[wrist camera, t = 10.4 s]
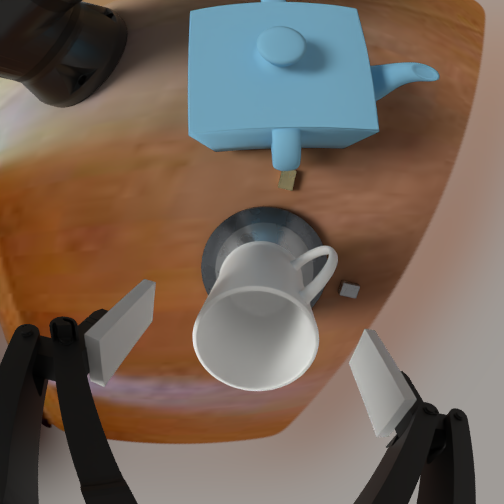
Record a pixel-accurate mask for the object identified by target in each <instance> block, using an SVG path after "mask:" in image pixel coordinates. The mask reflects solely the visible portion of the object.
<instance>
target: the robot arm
mask: <svg viewBox="0 0 504 504" xmlns="http://www.w3.org/2000/svg"><path fill="white" fill-rule="evenodd" d="M126 39H127V28H126V25H125V22H124V21H123V19H122V18H121V17H120V16H119V15H117V14H116V13H115V12H114V11H113V10H111V9H109V8H106V7H102V6H98V5H94V4H90V3H86V2H82V0H0V77H1V78H6V79H10V80H14V81H18V82H21V83H22V84H23V85H24V86H25V87H26V88H27V89H28V90H29V91H30V92H32V93H33V94H34V95H35V96H36V97H37V98H38V99H39V100H40V101H41V102H43V103H45V104H48V105H51V106H55V107H68V106H72V105H74V104H77V103H79V102H80V101H82V100H84V99H85V98H87V97H88V96H89V95H91V94H92V93H93V92H94V91H95V90H96V89H97V88H98V87H99V86H100V85H101V84H102V83H103V82H104V81H105V80H106V79H107V78H108V76H109V75H110V74H111V72H112V71H113V69H114V68H115V66H116V65H117V63H118V61H119V59H120V57H121V55H122V53H123V50H124V47H125V44H126ZM155 284H156V282H153V281H149V280H146V279H144V280H143V281H141V282H140V283H139V284H138V285H137V286H136V287H135V288H134V289H132V290H131V291H130V292H129V293H128V294H127V295H126V296H125V297H124V298H123V299H121V300H120V301H119V302H118V303H117V304H116V305H115V306H114V307H113V308H112V309H110V310H109V311H107V310H104V309H100V310H97V311H95V312H93V313H92V314H91V315H90V316H89V317H87V318H86V319H85V320H84V321H83V322H82V323H81V324H80V325H77V323H76V321H75V320H74V319H72V318H69V317H57V318H55V319H53V320H52V321H51V322H50V325H49V326H50V332H51V338H49V337H44V336H40V333H39V330H38V328H37V327H36V326H35V325H31V324H24V325H21V326H19V327H18V328H17V329H16V330H15V332H14V334H13V336H12V339H11V341H10V343H9V345H8V348H7V350H6V352H5V354H4V357H3V359H2V362H1V364H0V504H39V503H38V501H39V500H38V455H39V439H40V430H41V421H42V414H43V407H44V400H45V394H46V389H47V384H48V380H52V381H56V387H57V393H58V400H59V405H60V411H61V416H62V421H63V425H64V430H65V434H66V438H67V442H68V446H69V449H70V453H71V456H72V460H73V463H74V466H75V469H76V472H77V475H78V478H79V481H80V484H81V487H80V488H81V492H82V495H83V497H84V500H85V502H86V504H137V502H136V500H135V498H134V496H133V494H132V492H131V490H130V489H129V487H128V485H127V483H126V481H125V480H124V478H123V476H122V474H121V472H120V471H119V468H118V466H117V463H116V462H115V459H114V456H113V454H112V452H111V449H110V447H109V444H108V442H107V439H106V436H105V433H104V431H103V428H102V425H101V422H100V419H99V416H98V413H97V410H96V407H95V404H94V400H93V397H92V393H91V390H90V386H89V382H88V378H87V375H88V373H90V379H91V381H92V382H94V383H97V384H99V385H101V386H103V387H105V386H106V384H107V383H108V381H109V380H110V378H111V377H112V376H113V374H114V373H115V371H116V370H117V369H118V367H119V366H120V364H121V363H122V362H123V360H124V359H125V357H126V356H127V355H128V353H129V352H130V351H131V349H132V348H133V346H134V345H135V344H136V342H137V341H138V340H139V338H140V337H141V336H142V334H143V333H144V332H145V330H146V329H147V328H148V326H149V325H150V324H151V322H152V319H153V306H154V294H155ZM349 365H350V367H351V370H352V372H353V375H354V377H355V380H356V383H357V385H358V388H359V391H360V393H361V396H362V398H363V401H364V404H365V407H366V409H367V412H368V415H369V417H370V420H371V423H372V426H373V429H374V431H375V434H376V437H388V436H389V435H390V434H391V433H392V432H393V430H394V429H395V430H396V433H397V435H396V436H395V437H394V438H393V439H392V440H391V442H390V443H389V444H388V445H387V446H386V448H388V449H387V451H386V453H385V455H384V457H383V458H382V460H381V462H380V464H379V466H378V467H377V469H376V470H375V472H374V474H373V475H372V477H371V479H370V480H369V482H368V483H367V485H366V486H365V488H364V489H363V491H362V492H361V494H360V495H359V497H358V498H357V499H356V501H355V502H354V504H408V503H409V501H410V498H411V496H412V494H413V491H414V489H415V487H416V484H417V482H418V480H419V477H420V485H419V493H418V499H417V504H476V495H475V493H476V492H475V472H474V461H473V451H472V443H471V437H470V431H469V425H468V419H467V416H466V415H465V413H464V412H463V411H462V410H459V409H451V411H450V412H449V413H448V414H447V415H444V414H439V412H438V410H437V408H436V407H435V406H433V405H432V404H430V403H426V402H423V400H422V398H421V397H420V395H419V394H418V392H417V390H416V389H415V387H414V385H413V384H412V382H411V380H410V378H409V377H408V376H407V375H406V374H405V373H404V372H403V371H400V370H399V368H398V367H397V365H396V363H395V362H394V360H393V358H392V357H391V355H390V353H389V352H388V351H387V349H386V347H385V346H384V344H383V342H382V341H381V339H380V338H379V336H378V334H377V333H376V331H375V330H369V329H365V330H364V332H363V334H362V336H361V338H360V341H359V343H358V345H357V347H356V349H355V351H354V353H353V355H352V358H351V360H350V362H349ZM420 475H421V476H420Z"/></svg>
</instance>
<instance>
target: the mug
mask: <svg viewBox="0 0 504 504" xmlns="http://www.w3.org/2000/svg"><path fill="white" fill-rule="evenodd" d="M327 254H329V258H328V260H327V262H326V264H325V266H324V267H323V269H322V270H321V271H320V273H319V274H318V275H317V276H316V277H315V278H314V280H313V281H312V282H311V283H309V284H308V285H307V286H306V287H304V284H303V276H302V271H301V267H302V266H303V265H304V264H306V263H307V262H309V261H311V260H313V259H315V258H317V257H319V256H322V255H327ZM337 263H338V256H337V253H336V251H335V250H334V249H333V248H332V247H330V246H319V247H316V248H314V249H311V250H309V251H308V252H306V253H304V254H302V255H301V256H299V257H298V258H295V257H294V256H293V255H292V254H291V253H290V252H289V251H288V250H287V249H285V248H284V247H282V246H280V245H278V244H275V243H272V242H268V241H253V242H249V243H246V244H243V245H241V246H239V247H237V248H236V249H235V250H233V251H232V252H231V253H230V254H229V255H228V256H227V258H226V259H225V260H224V262H223V264H222V266H221V269H220V273H219V277H218V279H217V280H216V282H215V284H214V286H213V288H212V290H211V292H210V294H209V295H208V297H207V299H206V301H205V303H204V305H203V307H202V309H201V310H200V312H199V314H198V316H197V319H196V321H195V324H194V328H193V345H194V349H195V352H196V355H197V357H198V359H199V361H200V362H201V364H202V365H203V366H204V368H205V369H206V370H207V371H208V372H209V373H210V374H211V375H212V376H214V377H215V378H216V379H218V380H220V381H221V382H223V383H225V384H227V385H229V386H232V387H235V388H238V389H242V390H249V391H266V390H272V389H276V388H280V387H283V386H285V385H287V384H289V383H291V382H293V381H295V380H296V379H298V378H299V377H300V376H301V375H303V374H304V373H305V372H306V370H307V369H308V368H309V367H310V365H311V364H312V362H313V361H314V359H315V356H316V354H317V350H318V345H319V333H318V328H317V324H316V321H315V318H314V315H313V312H312V308H311V305H310V302H311V300H312V299H313V298H314V297H315V296H316V295H317V294H318V293H319V292H320V291H321V290H322V288H323V287H324V286H325V285H326V284H327V282H328V281H329V280H330V278H331V277H332V275H333V273H334V271H335V269H336V267H337Z"/></svg>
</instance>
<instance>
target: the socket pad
mask: <svg viewBox="0 0 504 504" xmlns="http://www.w3.org/2000/svg"><path fill="white" fill-rule="evenodd" d="M296 172H297V171H294V170H291V171H281V175H280V180H279V184H278V188H282V189H286V190H290V191H292V189H293V185H294V180H295V176H296ZM253 241H268V242H272V243H275V244H278V245H280V246H282V247H284V248H285V249H287V250H288V251H289V252H290V253H291V254H292V255H293V256H294V257H295V258H298V257H299V256H301V255H302V254H304V253H306V252H308V251H309V250H311V249H314V248H316V247H319V246H323V244H322V242H321V240H320V238H319V237H318V235H317V234H316V232H315V231H314V230H313V229H312V227H311V226H310V225H309V224H308V223H306V222H305V221H304V220H303V219H302V218H300V217H299V216H297V215H295V214H293V213H291V212H289V211H287V210H284V209H280V208H275V207H265V206H262V207H253V208H249V209H245V210H242V211H240V212H237V213H236V214H234V215H232V216H230V217H229V218H228V219H226V220H225V221H224V222H222V223H221V224H220V225H219V226H218V227H217V228H216V229H215V231H214V232H213V233H212V235H211V236H210V238H209V240H208V241H207V244H206V246H205V249H204V252H203V256H202V264H201V269H202V278H203V283H204V286H205V289H206V291H207V293H208V295H209V294H210V292H211V290H212V288H213V286H214V284H215V282H216V280H217V279H218V277H219V273H220V269H221V266H222V264H223V262H224V260H225V259H226V258H227V256H228V255H229V254H230V253H231V252H232V251H233V250H235V249H236V248H237V247H239V246H241V245H243V244H246V243H249V242H253ZM326 262H327V257H326V255H322V256H319V257H317V258H315V259H313V260H311V261H309V262H307V263H306V264H304V265H303V266H302V267H301V271H302V276H303V284H304V287H306V286H307V285H308V284H309V283H311V282H312V281H313V280H314V278H315V277H316V276H317V275H318V274H319V273H320V271H321V270H322V269H323V267H324V266H325V264H326ZM324 287H325V286H324ZM324 287H323V288H322V290H321V291H320V292H319V293H318V294H317V295H316V296H315V297H314V298H313V299H312V300H311V302H310V305H311V308H312V307H313V306H314V305H315V303H316V302H317V301H318V299H319V297H320V296H321V294H322V292H323V289H324ZM359 288H360V286H359V285H358V284H355V283H351V282H346V281H342V282H341V285H340V287H339V290H338V293H339V295H342V296H347V297H352V298H356V297H357V294H358V291H359Z"/></svg>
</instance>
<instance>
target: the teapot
mask: <svg viewBox="0 0 504 504" xmlns="http://www.w3.org/2000/svg"><path fill="white" fill-rule="evenodd" d="M438 79H439V73H438V72H437V71H436V70H435V69H433V68H432V67H430V66H427V65H424V64H421V63H414V62H407V63H393V64H385V65H376V66H370V63H369V57H368V53H367V48H366V43H365V39H364V35H363V31H362V27H361V23H360V19H359V15H358V12H357V9H355V8H350V7H344V6H336V5H328V4H317V3H302V2H286V0H261V2H257V3H242V4H232V5H223V6H216V7H209V8H203V9H198V10H193V11H190V25H189V52H188V128H189V136H191V137H192V138H194V139H196V140H197V141H199V142H200V143H202V144H204V145H205V146H207V147H209V148H210V149H212V150H213V151H215V152H220V151H234V150H250V149H271V151H272V161H273V167H274V168H275V169H277V170H280V171H291V170H295V169H297V168H298V167H299V165H300V160H301V148H345V147H348V146H350V145H352V144H354V143H356V142H358V141H360V140H362V139H365V138H367V137H369V136H371V135H373V134H376V133H378V132H379V125H378V115H377V107H376V101H377V100H379V99H381V98H382V97H384V96H386V95H387V94H388V93H390V92H391V91H393V90H394V89H396V88H398V87H400V86H402V85H404V84H407V83H411V82H416V81H436V80H438Z"/></svg>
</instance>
